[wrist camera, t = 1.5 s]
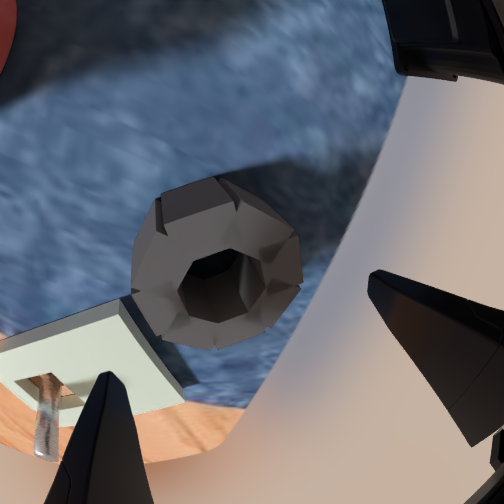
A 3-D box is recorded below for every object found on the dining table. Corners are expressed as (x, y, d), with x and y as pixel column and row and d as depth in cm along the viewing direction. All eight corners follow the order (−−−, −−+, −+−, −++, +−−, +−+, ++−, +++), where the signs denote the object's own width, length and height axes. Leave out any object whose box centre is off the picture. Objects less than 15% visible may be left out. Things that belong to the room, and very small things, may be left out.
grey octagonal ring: (258, 163, 12) (292, 183, 9) (279, 277, 15) (306, 315, 13) (116, 210, 11) (105, 246, 8) (167, 317, 14) (175, 363, 12)
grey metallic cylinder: (52, 371, 13) (45, 452, 8) (66, 385, 14) (63, 461, 9) (37, 375, 13) (28, 451, 8) (51, 388, 14) (46, 461, 9)
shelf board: (119, 298, 13) (118, 314, 12) (182, 388, 18) (185, 402, 17) (-17, 346, 11) (-22, 359, 10) (58, 415, 16) (57, 427, 15)
